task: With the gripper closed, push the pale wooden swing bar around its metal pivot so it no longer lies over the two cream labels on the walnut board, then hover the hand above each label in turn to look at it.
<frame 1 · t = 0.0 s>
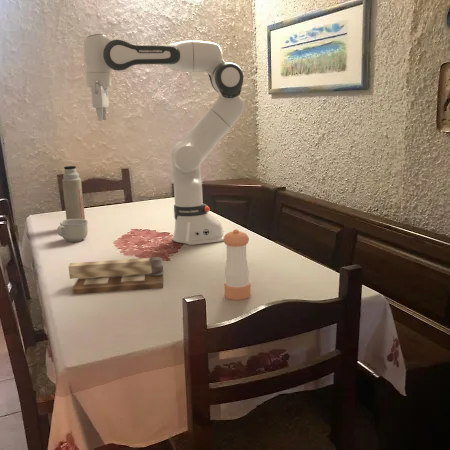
hand: (102, 120, 180), 48 cm above the table, tool pointing down, fingers open, 8 cm apart
teacup: (72, 241, 197), on the table
thermos bottle: (76, 228, 218), on the table
pepper shaker: (237, 295, 137), on the table
swing bar: (116, 267, 149), point 5 cm above the table, hinge at 0.0°
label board: (121, 281, 150), on the table
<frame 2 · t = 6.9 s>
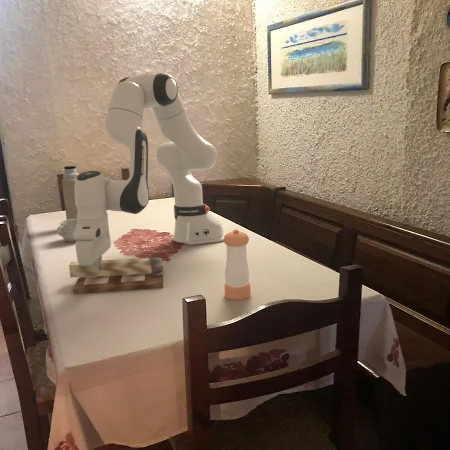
hand: (97, 271, 146), 5 cm above the table, tool pointing down, fingers closed
swing bar: (116, 267, 149), point 5 cm above the table, hinge at -2.4°, touching gripper
everything else where it was.
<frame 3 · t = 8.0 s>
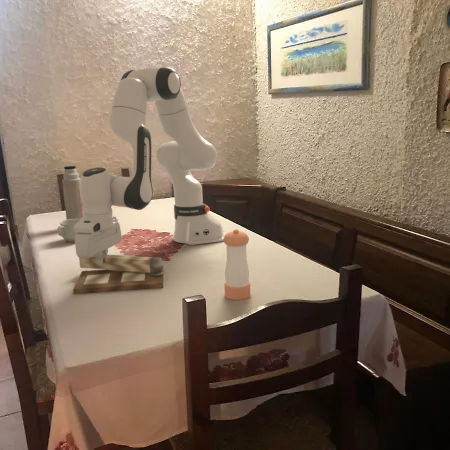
hand: (102, 263, 152), 5 cm above the table, tool pointing down, fingers closed
swing bar: (120, 262, 153), point 5 cm above the table, hinge at -22.7°, touching gripper
everything else where it was.
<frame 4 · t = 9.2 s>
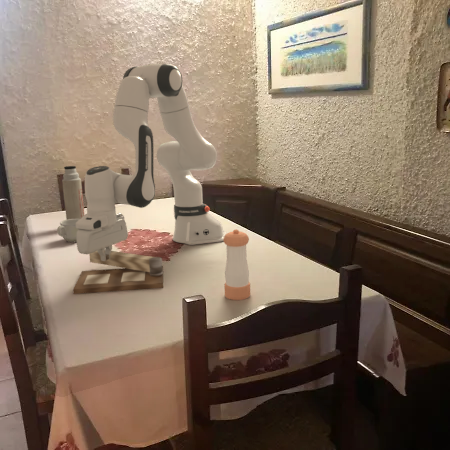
hand: (105, 259, 156), 5 cm above the table, tool pointing down, fingers closed
swing bar: (125, 260, 156), point 5 cm above the table, hinge at -35.0°, touching gripper
everything else where it was.
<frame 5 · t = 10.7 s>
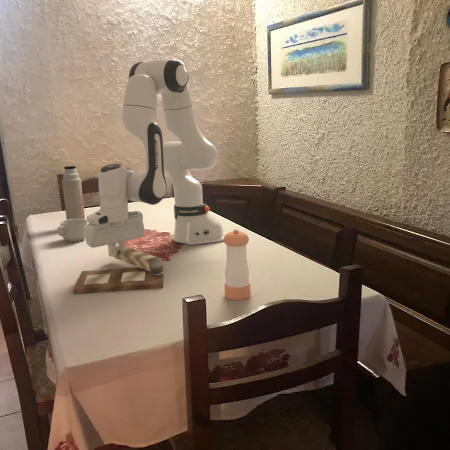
hand: (117, 254, 161), 5 cm above the table, tool pointing down, fingers closed
swing bar: (134, 257, 159), point 5 cm above the table, hinge at -53.4°, touching gripper
everything else where it was.
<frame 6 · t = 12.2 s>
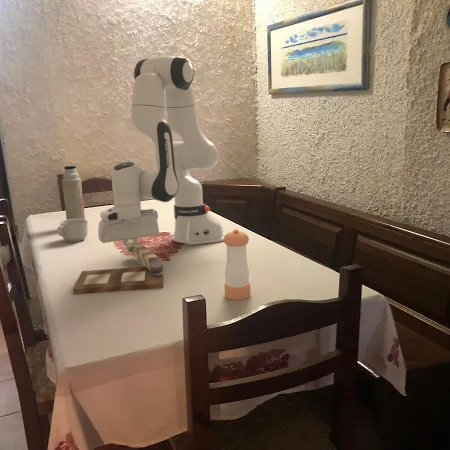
hand: (130, 251, 164), 5 cm above the table, tool pointing down, fingers closed
swing bar: (143, 255, 161), point 5 cm above the table, hinge at -70.1°, touching gripper
everything else where it was.
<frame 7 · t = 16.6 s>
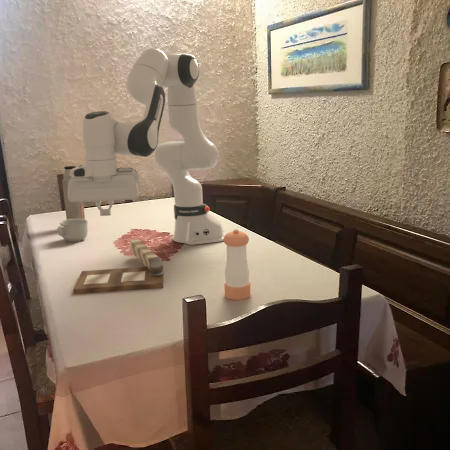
hand: (105, 215, 143), 22 cm above the table, tool pointing down, fingers closed
swing bar: (145, 254, 161), point 5 cm above the table, hinge at -72.1°
everything else where it was.
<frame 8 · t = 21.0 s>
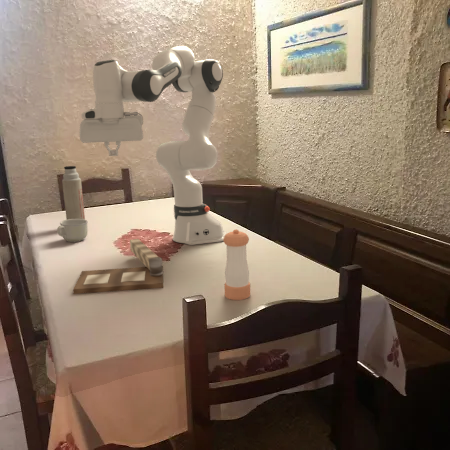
hand: (113, 155, 159), 37 cm above the table, tool pointing down, fingers closed
nothing on the table moved.
at the end: swing bar at -72° (first picture: +0°) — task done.
